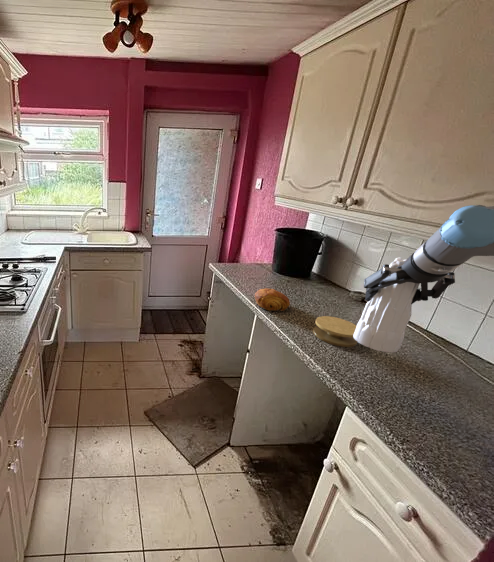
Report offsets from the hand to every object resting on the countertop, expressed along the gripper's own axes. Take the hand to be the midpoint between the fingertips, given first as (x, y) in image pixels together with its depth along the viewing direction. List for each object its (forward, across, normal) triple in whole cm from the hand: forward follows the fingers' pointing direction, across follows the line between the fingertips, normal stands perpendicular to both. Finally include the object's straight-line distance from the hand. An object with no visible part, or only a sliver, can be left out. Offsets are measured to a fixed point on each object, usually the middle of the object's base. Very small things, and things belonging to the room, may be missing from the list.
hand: (386, 299), depth 89 cm
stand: (+31, -4, -3) cm, 31 cm away
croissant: (+45, -26, +10) cm, 53 cm away
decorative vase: (+7, 0, -11) cm, 13 cm away
